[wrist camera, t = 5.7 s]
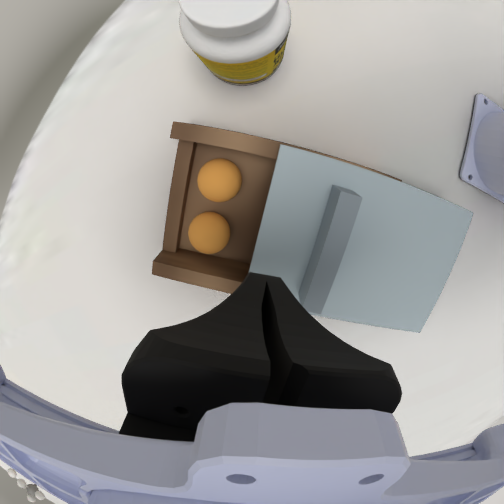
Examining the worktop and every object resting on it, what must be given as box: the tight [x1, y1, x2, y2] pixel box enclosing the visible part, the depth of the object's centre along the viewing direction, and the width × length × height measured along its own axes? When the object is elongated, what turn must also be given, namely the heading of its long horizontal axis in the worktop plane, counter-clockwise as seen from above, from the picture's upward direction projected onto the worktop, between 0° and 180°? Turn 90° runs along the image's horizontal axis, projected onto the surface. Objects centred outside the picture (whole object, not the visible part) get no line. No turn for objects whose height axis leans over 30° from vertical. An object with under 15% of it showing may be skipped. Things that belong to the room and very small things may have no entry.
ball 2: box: [188, 212, 230, 254], centre depth 20 cm, size 3×3×3 cm
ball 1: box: [197, 158, 242, 202], centre depth 18 cm, size 3×3×3 cm
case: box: [152, 122, 402, 294], centre depth 19 cm, size 14×10×4 cm
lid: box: [249, 144, 473, 333], centre depth 16 cm, size 14×10×3 cm
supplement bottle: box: [179, 0, 291, 85], centre depth 12 cm, size 5×5×10 cm
